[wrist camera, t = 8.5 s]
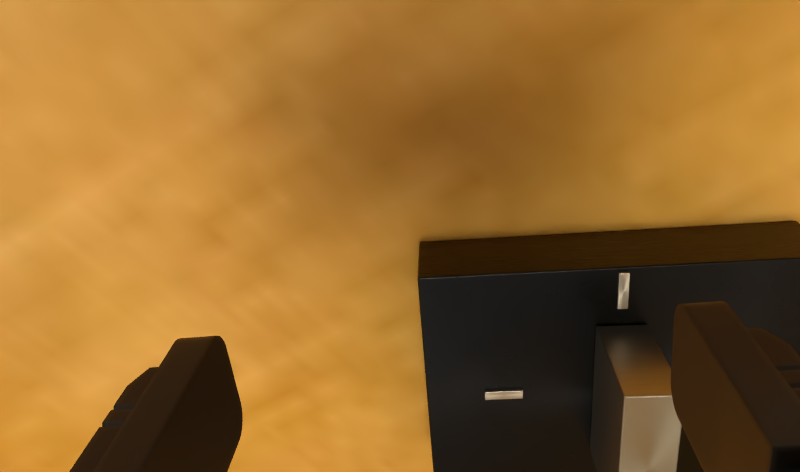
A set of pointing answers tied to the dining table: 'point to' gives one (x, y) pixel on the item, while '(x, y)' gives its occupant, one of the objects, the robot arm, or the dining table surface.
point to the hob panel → (574, 328)
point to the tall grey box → (632, 403)
